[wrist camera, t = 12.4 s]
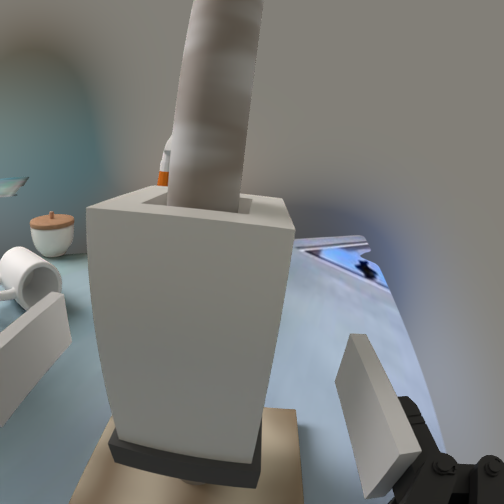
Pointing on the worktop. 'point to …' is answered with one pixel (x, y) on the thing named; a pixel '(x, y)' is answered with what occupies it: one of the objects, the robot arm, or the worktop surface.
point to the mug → (27, 277)
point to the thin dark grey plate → (188, 464)
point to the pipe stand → (218, 199)
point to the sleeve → (188, 317)
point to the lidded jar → (52, 233)
